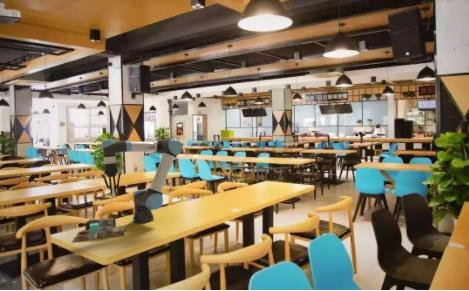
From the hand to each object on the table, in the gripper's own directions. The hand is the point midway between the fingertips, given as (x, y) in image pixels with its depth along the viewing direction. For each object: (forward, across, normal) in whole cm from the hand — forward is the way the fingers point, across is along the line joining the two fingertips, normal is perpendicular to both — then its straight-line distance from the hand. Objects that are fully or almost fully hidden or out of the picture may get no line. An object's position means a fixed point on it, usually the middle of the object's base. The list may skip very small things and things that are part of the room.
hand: (114, 197), depth 238 cm
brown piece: (+23, +10, +2) cm, 25 cm away
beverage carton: (+24, +12, -16) cm, 31 cm away
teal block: (+20, +14, +3) cm, 25 cm away
